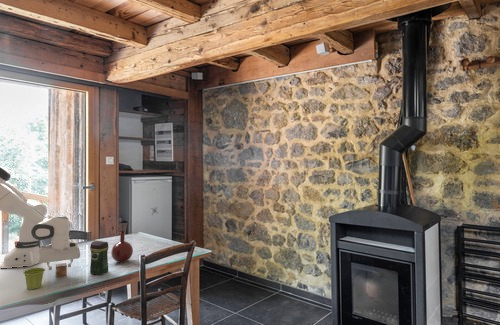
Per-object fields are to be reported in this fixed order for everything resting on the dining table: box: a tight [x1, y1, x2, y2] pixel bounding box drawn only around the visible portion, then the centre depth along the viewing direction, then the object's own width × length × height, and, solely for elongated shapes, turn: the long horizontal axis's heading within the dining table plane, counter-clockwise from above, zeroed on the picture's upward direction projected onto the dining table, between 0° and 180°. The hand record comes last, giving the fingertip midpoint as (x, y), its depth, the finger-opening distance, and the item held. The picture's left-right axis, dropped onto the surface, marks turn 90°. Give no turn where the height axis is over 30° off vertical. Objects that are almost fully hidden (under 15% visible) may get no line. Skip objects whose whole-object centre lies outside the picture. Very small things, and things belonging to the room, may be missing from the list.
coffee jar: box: [89, 240, 109, 276], centre depth 193 cm, size 10×8×19 cm
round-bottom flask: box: [110, 230, 134, 263], centre depth 214 cm, size 13×13×20 cm
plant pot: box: [22, 267, 46, 290], centre depth 171 cm, size 9×9×9 cm
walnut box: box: [55, 262, 68, 279], centre depth 188 cm, size 5×5×6 cm
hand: (60, 268), depth 187 cm, fingers open, 8 cm apart
